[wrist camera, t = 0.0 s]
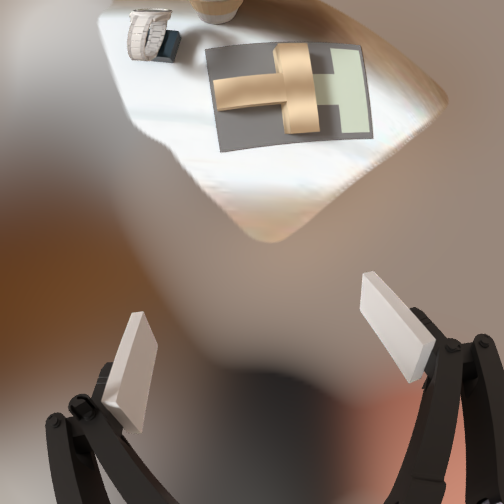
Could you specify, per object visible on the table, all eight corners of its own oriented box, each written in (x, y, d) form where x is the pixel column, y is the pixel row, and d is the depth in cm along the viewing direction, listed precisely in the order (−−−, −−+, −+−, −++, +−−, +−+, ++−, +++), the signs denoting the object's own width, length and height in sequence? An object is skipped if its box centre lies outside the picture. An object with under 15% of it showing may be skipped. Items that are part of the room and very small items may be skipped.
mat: (205, 50, 31) (204, 49, 31) (359, 45, 33) (360, 45, 32) (220, 152, 38) (220, 152, 38) (371, 138, 39) (372, 138, 39)
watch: (185, 27, 29) (174, -4, 19) (170, 73, 32) (153, 54, 22) (149, 24, 28) (129, -5, 18) (134, 70, 31) (107, 53, 21)
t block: (209, 57, 32) (208, 50, 28) (299, 50, 32) (307, 43, 29) (222, 141, 37) (222, 142, 34) (310, 131, 38) (319, 131, 34)
